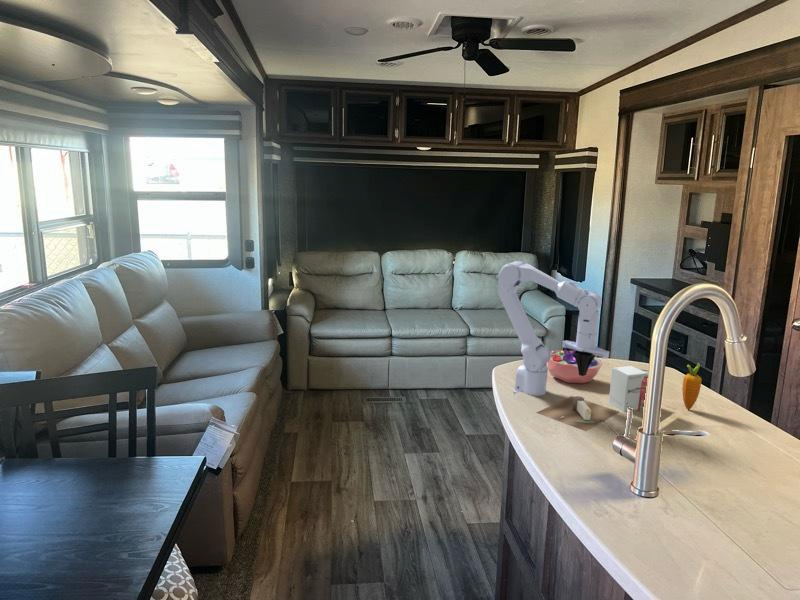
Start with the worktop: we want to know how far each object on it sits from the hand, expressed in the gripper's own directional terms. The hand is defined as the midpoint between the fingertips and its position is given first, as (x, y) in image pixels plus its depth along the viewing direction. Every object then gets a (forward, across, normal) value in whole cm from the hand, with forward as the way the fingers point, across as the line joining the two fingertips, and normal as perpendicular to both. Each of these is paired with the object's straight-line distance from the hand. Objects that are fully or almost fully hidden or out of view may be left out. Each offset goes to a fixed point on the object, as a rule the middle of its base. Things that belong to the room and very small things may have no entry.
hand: (582, 374), depth 176 cm
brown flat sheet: (+10, +4, -8) cm, 13 cm away
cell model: (+10, -13, +17) cm, 24 cm away
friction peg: (+9, +6, -9) cm, 14 cm away
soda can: (+10, +14, +11) cm, 21 cm away
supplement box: (+10, +11, +8) cm, 17 cm away
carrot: (+10, +24, +23) cm, 35 cm away
